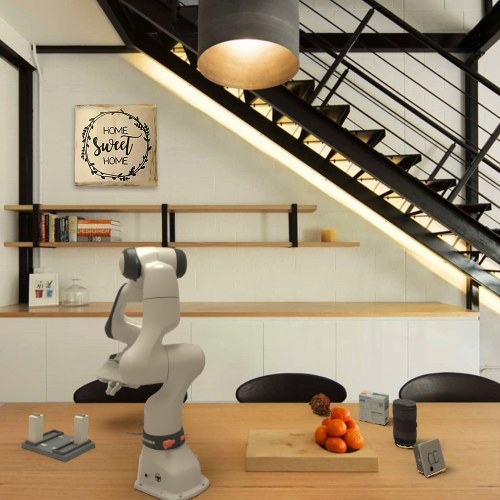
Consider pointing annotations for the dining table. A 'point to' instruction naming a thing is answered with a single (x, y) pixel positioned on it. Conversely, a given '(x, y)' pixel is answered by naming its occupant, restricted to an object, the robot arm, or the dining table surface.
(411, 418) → the camera lens
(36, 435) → the tab far
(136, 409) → the dining table surface
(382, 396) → the light bulb box
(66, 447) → the grey rectangular board
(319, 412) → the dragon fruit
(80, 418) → the tab near
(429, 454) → the electrical switch
